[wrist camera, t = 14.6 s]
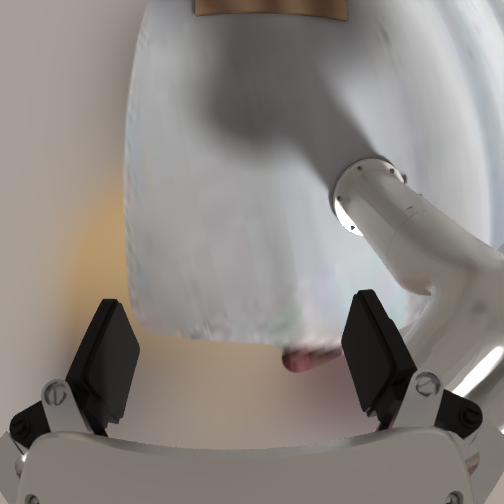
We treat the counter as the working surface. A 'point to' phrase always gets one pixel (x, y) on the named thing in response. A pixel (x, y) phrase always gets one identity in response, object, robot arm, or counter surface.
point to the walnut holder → (275, 7)
